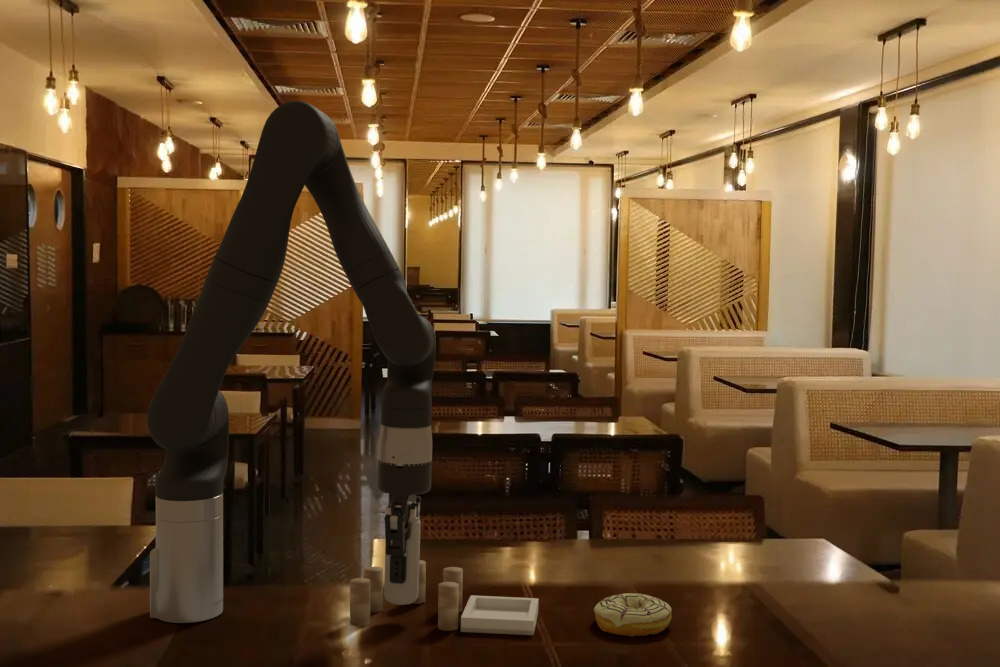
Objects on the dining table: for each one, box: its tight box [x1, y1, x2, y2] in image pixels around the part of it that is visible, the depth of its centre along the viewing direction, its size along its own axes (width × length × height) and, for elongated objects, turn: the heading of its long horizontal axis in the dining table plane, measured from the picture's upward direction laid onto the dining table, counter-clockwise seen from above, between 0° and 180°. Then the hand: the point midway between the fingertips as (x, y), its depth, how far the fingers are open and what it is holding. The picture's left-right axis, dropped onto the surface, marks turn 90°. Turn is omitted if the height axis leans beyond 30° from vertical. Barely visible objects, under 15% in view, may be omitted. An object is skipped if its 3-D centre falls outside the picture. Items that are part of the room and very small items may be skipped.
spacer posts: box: [349, 559, 464, 632], centre depth 147 cm, size 15×13×6 cm
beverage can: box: [383, 515, 422, 606], centre depth 143 cm, size 5×5×12 cm
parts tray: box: [460, 594, 540, 636], centre depth 144 cm, size 10×10×2 cm
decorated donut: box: [593, 592, 673, 638], centre depth 143 cm, size 10×11×4 cm
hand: (401, 576), depth 143 cm, fingers closed on beverage can, 4 cm apart
